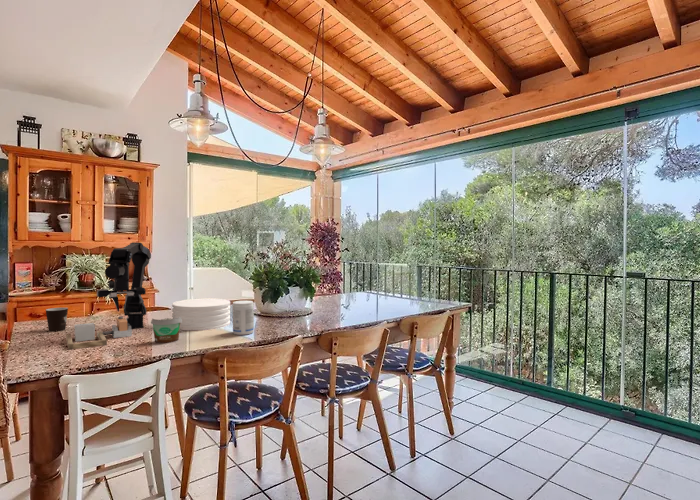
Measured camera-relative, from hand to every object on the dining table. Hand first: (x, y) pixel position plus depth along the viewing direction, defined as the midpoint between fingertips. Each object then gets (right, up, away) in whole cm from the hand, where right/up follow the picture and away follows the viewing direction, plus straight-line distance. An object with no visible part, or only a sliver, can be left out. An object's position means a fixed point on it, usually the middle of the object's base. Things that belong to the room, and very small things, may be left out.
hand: (121, 311), depth 187 cm
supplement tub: (+52, -12, +8) cm, 54 cm away
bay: (-8, -11, -12) cm, 18 cm away
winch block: (-2, -11, -1) cm, 11 cm away
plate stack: (+27, -11, +27) cm, 39 cm away
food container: (+25, -12, -10) cm, 29 cm away
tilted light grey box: (-12, -11, -7) cm, 18 cm away
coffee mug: (-35, -11, +10) cm, 38 cm away
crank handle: (0, -8, 0) cm, 8 cm away
